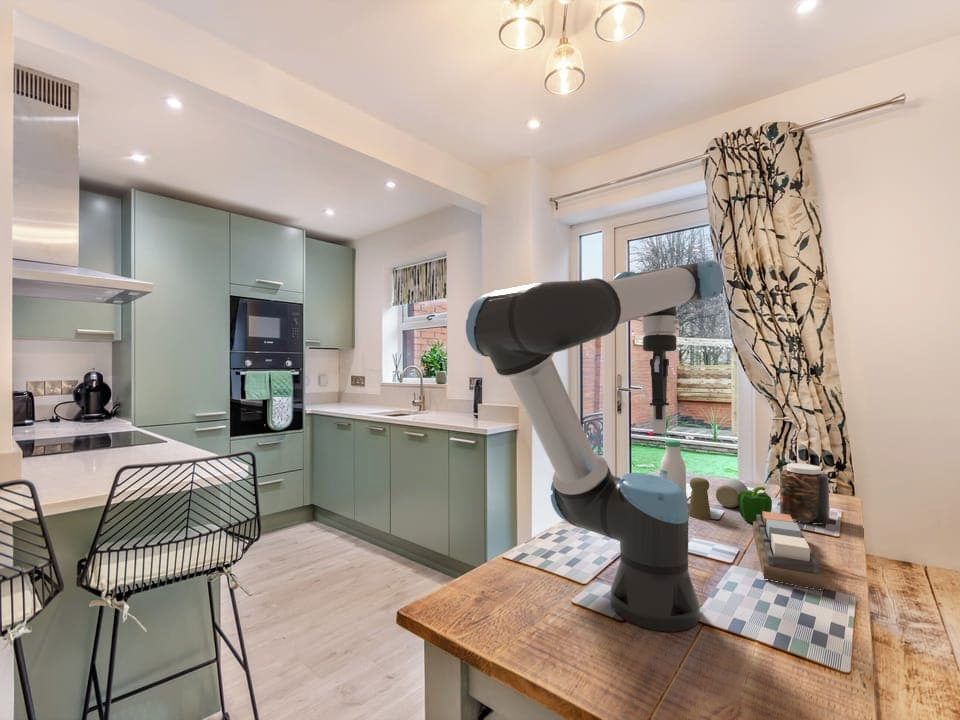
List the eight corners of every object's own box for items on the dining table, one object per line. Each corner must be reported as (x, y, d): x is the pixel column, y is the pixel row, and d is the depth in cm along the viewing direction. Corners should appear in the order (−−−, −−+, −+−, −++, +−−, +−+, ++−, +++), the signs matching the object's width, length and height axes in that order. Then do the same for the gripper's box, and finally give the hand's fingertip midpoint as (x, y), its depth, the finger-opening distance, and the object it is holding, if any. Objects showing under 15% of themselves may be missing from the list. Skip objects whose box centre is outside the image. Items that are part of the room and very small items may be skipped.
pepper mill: (706, 512, 136) (706, 476, 136) (714, 519, 130) (714, 481, 130) (685, 512, 136) (685, 475, 137) (692, 519, 130) (692, 480, 130)
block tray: (823, 591, 89) (823, 565, 89) (764, 580, 93) (763, 555, 93) (798, 538, 115) (798, 519, 115) (753, 532, 120) (752, 513, 120)
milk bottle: (687, 501, 147) (687, 440, 147) (684, 508, 140) (683, 443, 141) (662, 497, 151) (662, 438, 151) (658, 504, 144) (657, 441, 145)
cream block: (809, 563, 91) (809, 548, 91) (774, 557, 94) (774, 543, 94) (804, 552, 96) (804, 538, 96) (771, 547, 99) (771, 533, 99)
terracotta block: (793, 534, 110) (793, 522, 110) (764, 530, 112) (764, 518, 112) (790, 526, 115) (790, 514, 115) (762, 522, 118) (762, 511, 118)
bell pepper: (733, 521, 128) (733, 486, 129) (742, 514, 134) (742, 480, 134) (768, 528, 123) (767, 492, 123) (775, 521, 128) (775, 486, 128)
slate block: (801, 544, 100) (800, 531, 100) (769, 540, 103) (769, 526, 103) (796, 535, 106) (796, 522, 106) (766, 531, 108) (766, 518, 108)
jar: (832, 528, 123) (831, 472, 123) (780, 520, 129) (780, 467, 129) (826, 515, 133) (826, 464, 133) (779, 509, 139) (778, 460, 140)
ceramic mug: (713, 505, 143) (714, 481, 143) (723, 500, 148) (723, 476, 148) (751, 514, 135) (751, 488, 135) (759, 508, 140) (760, 483, 140)
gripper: (673, 332, 101) (674, 437, 101) (678, 336, 113) (678, 430, 113) (638, 333, 105) (639, 435, 105) (646, 336, 116) (646, 428, 116)
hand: (659, 432), depth 109 cm, fingers closed
